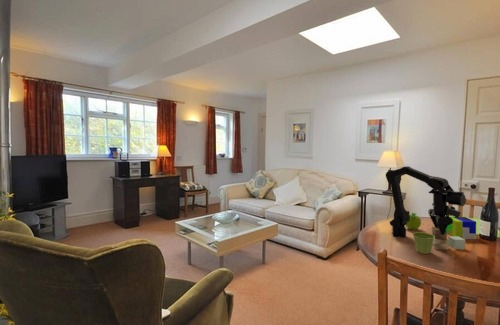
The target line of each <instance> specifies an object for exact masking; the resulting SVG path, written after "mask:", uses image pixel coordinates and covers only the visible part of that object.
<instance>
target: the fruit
mask: <svg viewBox="0 0 500 325" xmlns="http://www.w3.org/2000/svg"><path fill="white" fill-rule="evenodd" d="M417 214H418V213H416V212H415V213H414V212H411V214H409V215H410V217H411V218H410V221H409V222H407V224H406V225H405V227H406V228H408V229H409V230H413V231H414V230H417V229H419V228H420V227H421V225H422V220H421V218H420V216H418V215H417Z"/></svg>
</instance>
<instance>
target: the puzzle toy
mask: <svg viewBox="0 0 500 325" xmlns="http://www.w3.org/2000/svg"><path fill="white" fill-rule="evenodd" d="M450 217H451V218H452V219H453V224H451V225H448V226H447V228H446V230H447V235H450V236H459V237H461V238H463V239H465V240H476V239H477V221H475V220H473V219H471V218H468V217H466V216H459V218H456V217H454V216H450Z"/></svg>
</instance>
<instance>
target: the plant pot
mask: <svg viewBox="0 0 500 325" xmlns="http://www.w3.org/2000/svg"><path fill="white" fill-rule="evenodd" d="M412 236H413V239H414V244H415V251H416V252H417V253H420V254H424V255H428V254H429V255H430V254H431V253H432V247H433V246H432V243H433V240H434V238H435V236H434V235H432V233H428V232H421V231H420V232H419V231H417V232H413V233H412Z"/></svg>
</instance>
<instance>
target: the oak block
mask: <svg viewBox="0 0 500 325" xmlns="http://www.w3.org/2000/svg"><path fill="white" fill-rule="evenodd" d="M432 247H433V248H434V249H435V250H447V251H448V250H449V246H448V239H447V240H439V239H435V238H434V240H433V243H432Z"/></svg>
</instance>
